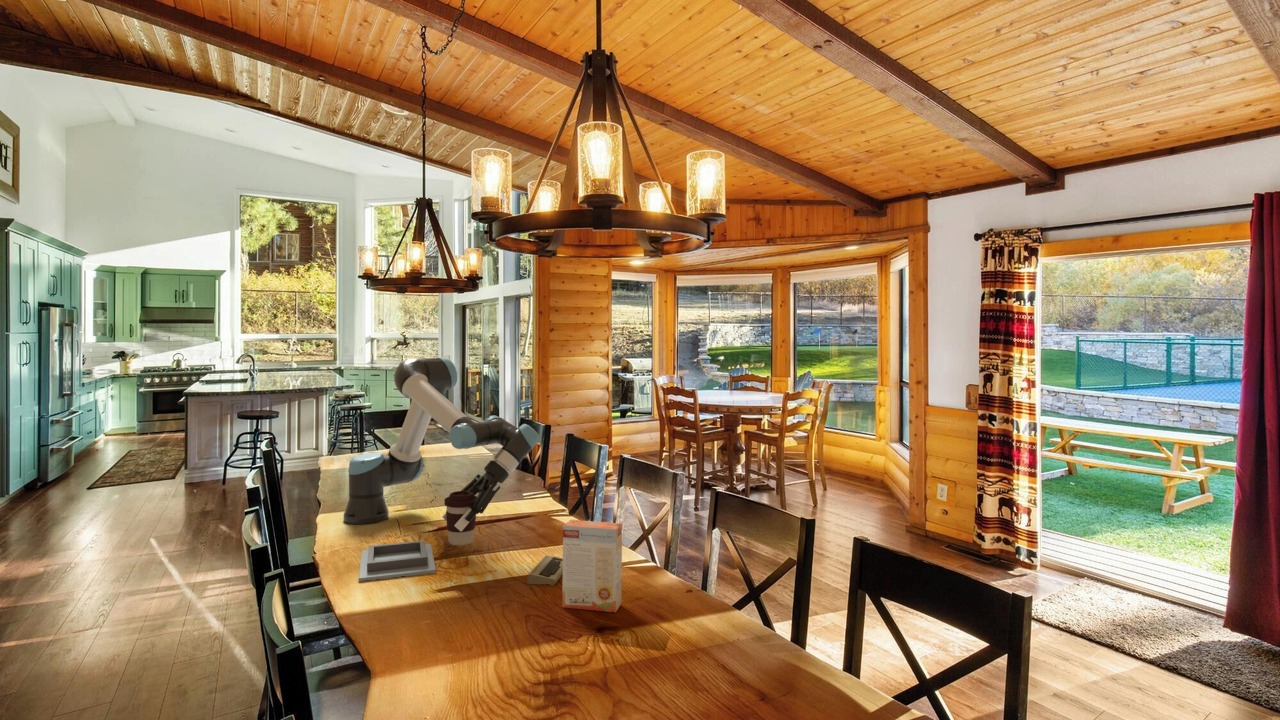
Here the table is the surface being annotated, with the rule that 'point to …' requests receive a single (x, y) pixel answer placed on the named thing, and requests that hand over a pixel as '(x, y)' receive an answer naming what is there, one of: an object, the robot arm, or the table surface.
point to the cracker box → (592, 565)
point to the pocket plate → (396, 560)
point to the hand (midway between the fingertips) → (451, 524)
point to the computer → (546, 571)
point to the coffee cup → (455, 510)
